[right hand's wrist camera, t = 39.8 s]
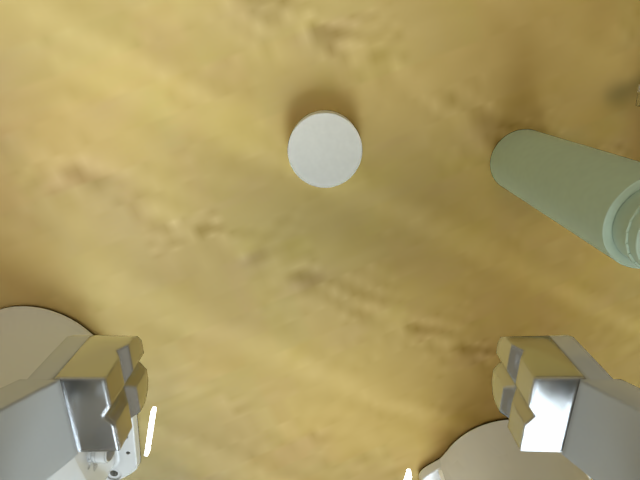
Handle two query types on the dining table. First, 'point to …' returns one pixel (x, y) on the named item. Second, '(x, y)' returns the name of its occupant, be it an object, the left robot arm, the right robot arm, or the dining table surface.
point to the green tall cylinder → (575, 189)
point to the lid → (324, 149)
